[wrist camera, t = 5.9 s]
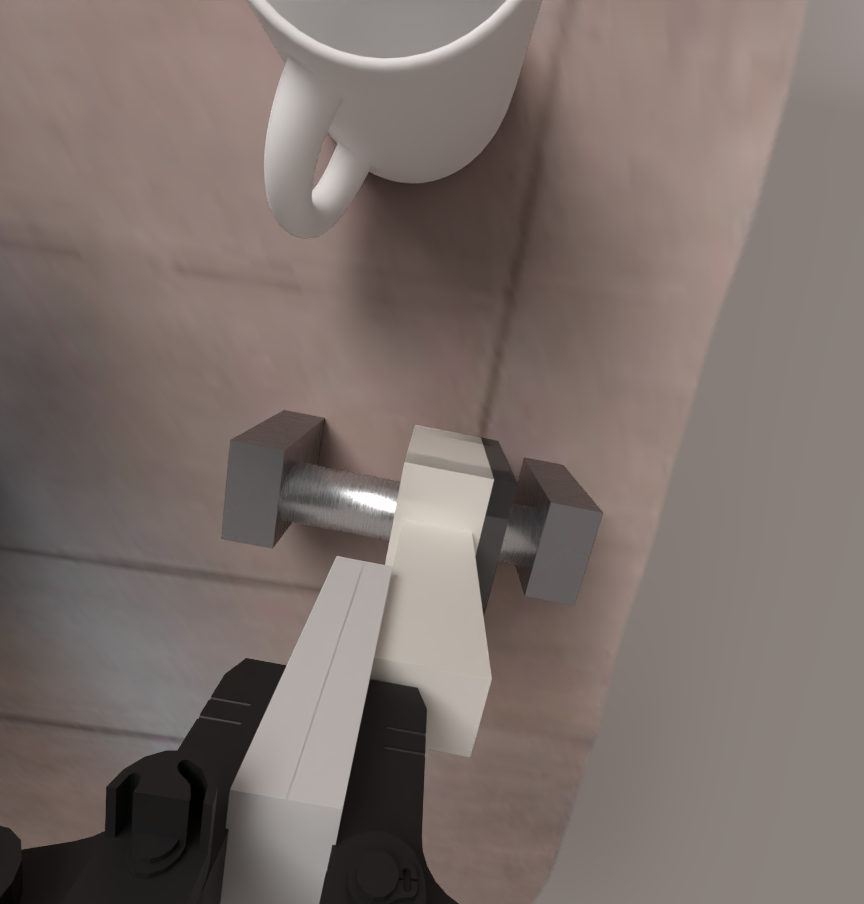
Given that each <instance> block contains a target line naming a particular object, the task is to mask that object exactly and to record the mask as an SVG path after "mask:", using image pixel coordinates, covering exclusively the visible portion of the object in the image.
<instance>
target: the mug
mask: <svg viewBox="0 0 864 904" xmlns="http://www.w3.org/2000/svg"><path fill="white" fill-rule="evenodd" d="M246 1H247V2H248V4H249V5H250V7H251V9H252V10H253V12H254V14H255V15H256V17H257V19H258V20H259V22H260V24H261V25H262V27H263V28H264V30H265V32H266V33H267V35H268V36H269V38H270V40H271V41H272V43H273V44H274V46H275V48H276V49H277V51H278V53H279V54H280V56H281V58H282V59H283V61H284V63H285V67H284V69H283V72H282V75H281V78H280V81H279V84H278V87H277V91H276V94H275V98H274V102H273V105H272V109H271V114H270V119H269V123H268V128H267V136H266V143H265V155H264V175H265V188H266V194H267V200H268V203H269V206H270V209H271V211H272V213H273V215H274V217H275V218H276V220H277V222H278V223H279V225H280V226H281V227H282V228H283V229H285V230H286V231H287V232H288V233H289V234H291V235H293V236H296V237H299V238H303V239H308V238H315V237H318V236H320V235H322V234H324V233H325V232H327V231H328V230H329V229H330V228H332V227H333V226H334V225H335V224H336V223H337V222H338V221H339V219H340V218H341V217H342V216H343V214H344V213H345V212H346V210H347V209H348V207H349V206H350V204H351V202H352V201H353V199H354V197H355V196H356V194H357V192H358V191H359V189H360V187H361V185H362V184H363V182H364V180H365V178H366V176H367V174H368V173H369V172H371V173H372V174H374V175H377V176H379V177H382V178H384V179H388V180H392V181H396V182H401V183H425V182H430V181H436V180H438V179H441V178H444V177H447V176H449V175H451V174H453V173H455V172H457V171H459V170H460V169H462V168H463V167H465V166H466V165H467V164H469V163H470V162H471V161H472V160H473V159H474V158H476V157H477V156H478V155H479V154H480V153H481V152H482V151H483V149H484V148H485V147H486V146H487V145H488V143H489V142H490V141H491V140H492V138H493V137H494V135H495V133H496V132H497V130H498V129H499V127H500V125H501V123H502V121H503V119H504V117H505V115H506V113H507V110H508V108H509V105H510V102H511V99H512V96H513V94H514V91H515V88H516V84H517V81H518V78H519V75H520V71H521V68H522V65H523V62H524V58H525V55H526V52H527V49H528V45H529V42H530V39H531V36H532V32H533V29H534V26H535V23H536V19H537V16H538V13H539V10H540V6H541V3H542V0H246ZM327 132H328V133H329V135H330V136H331V137H332V138H333V140H334V141H335V142H336V143H337V146H336V149H335V151H334V153H333V155H332V158H331V160H330V162H329V164H328V166H327V168H326V170H325V172H324V174H323V176H322V177H321V179H320V181H319V182H318V184H317V186H316V187H315V188H314V190H313V191H312V185H313V178H314V173H315V168H316V164H317V160H318V157H319V153H320V151H321V148H322V145H323V142H324V139H325V137H326V134H327Z"/></svg>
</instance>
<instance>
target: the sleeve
mask: <svg viewBox="0 0 864 904" xmlns="http://www.w3.org/2000/svg"><path fill="white" fill-rule="evenodd" d="M517 486H518V483H517V481H516V479H515V477H514V475H513V472H512V470H511V468H510V466H509V464H508V461H507V459H506V457H505V455H504V453H503V451H502V448H501V446H500V444H499V442H498V441H496V440H491V439H486V438H481V437H476V436H471V435H465V434H460V433H455V432H450V431H445V430H440V429H435V428H430V427H425V426H420V425H415V426H414V430H413V433H412V437H411V440H410V444H409V448H408V451H407V455H406V458H405V462H404V467H403V473H402V478H401V483H400V488H399V494H398V499H397V504H396V509H395V515H394V520H393V525H392V530H391V536H390V541H389V546H388V551H387V557H386V562H385V565H387V566H392V567H393V568H392V573H391V578H390V583H389V588H388V593H387V597H386V602H385V607H384V612H383V617H382V622H381V627H380V631H379V636H378V641H377V646H376V651H375V656H374V661H373V666H372V671H371V676H370V679H372V680H378V681H383V682H389V683H394V684H400V685H405V686H411V687H416V688H418V689H419V692H420V694H421V696H422V699H423V701H424V703H425V706H426V708H427V722H426V736H425V737H426V745H425V749H427V750H433V751H438V752H444V753H449V754H455V755H460V756H466V757H471V753H472V750H473V746H474V742H475V739H476V735H477V731H478V728H479V724H480V720H481V717H482V713H483V709H484V706H485V702H486V698H487V695H488V691H489V688H490V684H491V680H492V677H491V669H490V662H489V654H488V647H487V640H486V632H485V625H484V614H485V610H486V606H487V602H488V598H489V594H490V590H491V586H492V582H493V579H494V575H495V571H496V567H497V563H498V559H499V555H500V551H501V548H502V544H503V540H504V536H505V532H506V528H507V524H508V520H509V517H510V513H511V509H512V505H513V501H514V497H515V493H516V489H517Z"/></svg>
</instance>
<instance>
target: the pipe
mask: <svg viewBox="0 0 864 904" xmlns="http://www.w3.org/2000/svg"><path fill="white" fill-rule="evenodd" d="M324 419H325V418H321V417H316V416H311V415H306V414H301V413H296V412H291V411H286V410H283V411H282V412H280V413H278V414H276V415H274V416H273V417H271V418H269V419H267V420H265V421H264V422H262V423H260V424H258V425H256V426H255V427H253V428H251V429H249V430H247V431H246V432H244V433H242V434H240V435H238V436H237V437H235V438H233V439H231V440H230V448H229V459H228V470H227V481H226V492H225V503H224V514H223V525H222V536H221V539H225V540H230V541H235V542H241V543H246V544H251V545H256V546H262V547H267V548H272V549H273V547H274V546H275V545H276V543H277V542H278V541H279V539H280V538H281V537H282V535H283V534H284V533H285V531H286V530H287V529H288V527H289V526H290V525H291V523H292V522H294V523H299V524H305V525H310V526H315V527H320V528H326V529H331V530H336V531H341V532H346V533H352V534H357V535H362V536H367V537H373V538H378V539H383V540H388V541H390V536H391V530H392V525H393V520H394V515H395V509H396V504H397V499H398V494H399V488H400V483H401V482H400V481H395V480H390V479H385V478H379V477H374V476H369V475H364V474H359V473H354V472H349V471H344V470H338V469H333V468H328V467H323V466H318V461H319V454H320V447H321V440H322V433H323V426H324ZM602 515H603V512H602V511H601V510H600V509H599V507H598V506H597V505H596V504H595V503H594V501H593V500H592V499H591V498H590V497H589V495H588V494H587V493H586V492H585V491H584V489H583V488H582V487H581V486H580V485H579V483H578V482H577V481H576V480H575V479H574V477H573V476H572V475H571V474H570V473H569V471H568V470H567V469H566V468H565V467H564V465H559V464H554V463H549V462H544V461H539V460H534V459H529V458H524V460H523V464H522V468H521V472H520V476H519V480H518V486H517V489H516V493H515V497H514V501H513V505H512V509H511V513H510V517H509V520H508V524H507V528H506V532H505V536H504V540H503V544H502V548H501V551H500V555H499V559H498V562H503V563H508V564H514V565H516V569H517V572H518V575H519V579H520V582H521V585H522V589H523V592H524V596H525V597H531V598H536V599H541V600H547V601H552V602H557V603H562V604H568V605H573V606H574V605H575V602H576V598H577V595H578V592H579V589H580V586H581V582H582V579H583V576H584V573H585V570H586V566H587V563H588V560H589V557H590V554H591V550H592V547H593V544H594V541H595V537H596V534H597V531H598V528H599V525H600V521H601V518H602Z"/></svg>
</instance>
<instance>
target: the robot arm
mask: <svg viewBox="0 0 864 904" xmlns="http://www.w3.org/2000/svg"><path fill="white" fill-rule="evenodd" d="M392 568H393V567H392V566H387V565H382V564H377V563H371V562H366V561H361V560H356V559H350V558H345V557H340V556H336V558H335V561H334V563H333V565H332V567H331V569H330V572H329V574H328V576H327V578H326V580H325V583H324V585H323V587H322V589H321V591H320V593H319V596H318V598H317V600H316V602H315V604H314V607H313V609H312V611H311V613H310V615H309V618H308V620H307V622H306V624H305V626H304V629H303V631H302V633H301V635H300V637H299V639H298V642H297V644H296V646H295V648H294V650H293V653H292V655H291V657H290V659H289V661H288V664H287V666H286V665H281V664H275V663H270V662H264V661H259V660H254V659H248V658H246V659H244V660H243V661H242V662H241V663H239V664H238V665H237V666H235V667H234V668H233V669H231V670H230V671H229V672H227V673H226V674H225V675H224V677H223V678H222V680H221V681H220V683H219V685H218V686H217V688H216V689H215V691H214V693H213V694H212V696H211V699H210V700H209V701H208V702H207V704H206V706H205V707H204V709H203V710H202V712H201V714H200V717H199V719H197V720H196V722H195V723H194V725H193V727H192V728H191V730H190V731H189V733H188V735H187V736H186V738H185V739H184V741H183V743H182V744H181V746H180V747H179V749H178V751H163V752H160V753H157V754H153V755H150V756H146V757H144V758H142V759H140V760H139V761H137V762H135V763H134V764H132V765H130V766H129V767H127V768H125V769H123V771H122V772H121V773H120V774H119V775H118V776H117V777H116V778H115V779H114V780H113V781H112V782H111V783H110V784H109V785H108V786H107V787H106V822H105V831H104V832H102V833H100V834H97V835H95V836H93V837H89V838H85V839H81V840H77V841H73V842H67V843H61V844H55V845H48V846H42V847H36V848H30V849H24V850H21V840H20V839H19V838H18V837H17V836H16V835H15V834H14V832H13V831H12V830H11V829H10V828H7V827H2V826H0V904H458V903H457V902H456V901H454V900H453V899H452V898H451V897H449V896H448V895H447V894H446V893H445V892H444V891H443V890H442V889H441V887H440V886H439V885H438V884H437V883H436V882H435V880H434V878H433V876H432V874H431V872H430V871H429V869H428V867H427V864H426V861H425V857H424V854H423V848H422V816H423V792H424V769H425V745H426V737H425V736H426V722H427V708H426V706H425V703H424V701H423V699H422V696H421V694H420V692H419V689H418V688H416V687H411V686H405V685H400V684H394V683H389V682H383V681H378V680H372V679H370V676H371V671H372V666H373V661H374V656H375V651H376V646H377V641H378V636H379V631H380V627H381V622H382V617H383V612H384V607H385V602H386V597H387V593H388V588H389V583H390V578H391V573H392Z"/></svg>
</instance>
